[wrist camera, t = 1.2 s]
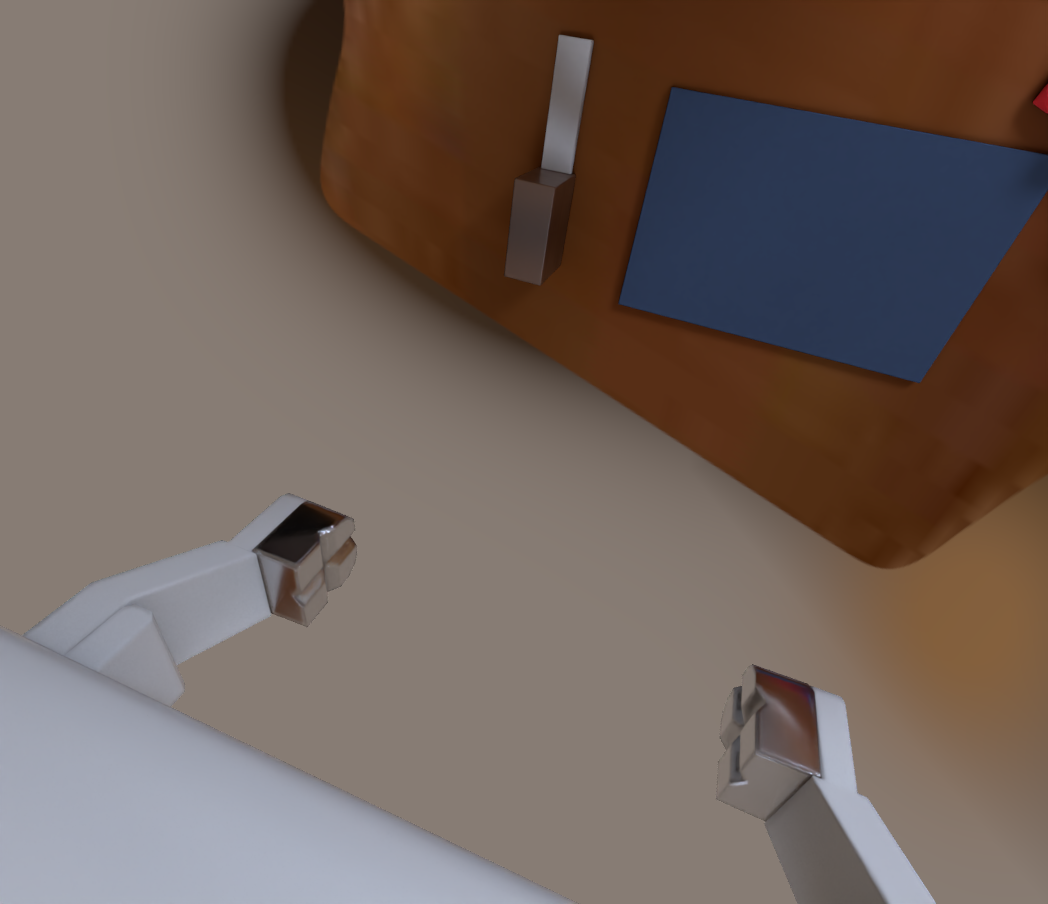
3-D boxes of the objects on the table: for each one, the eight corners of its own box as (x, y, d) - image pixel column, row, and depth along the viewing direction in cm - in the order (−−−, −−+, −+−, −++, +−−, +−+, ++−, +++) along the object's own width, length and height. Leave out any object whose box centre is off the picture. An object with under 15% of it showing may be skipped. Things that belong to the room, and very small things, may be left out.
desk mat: (672, 86, 31) (671, 87, 31) (1065, 157, 28) (1068, 159, 27) (619, 302, 39) (618, 304, 39) (918, 380, 36) (919, 383, 35)
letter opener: (560, 265, 39) (540, 286, 36) (526, 257, 40) (503, 276, 36) (599, 41, 31) (578, 39, 28) (556, 33, 32) (530, 30, 28)
